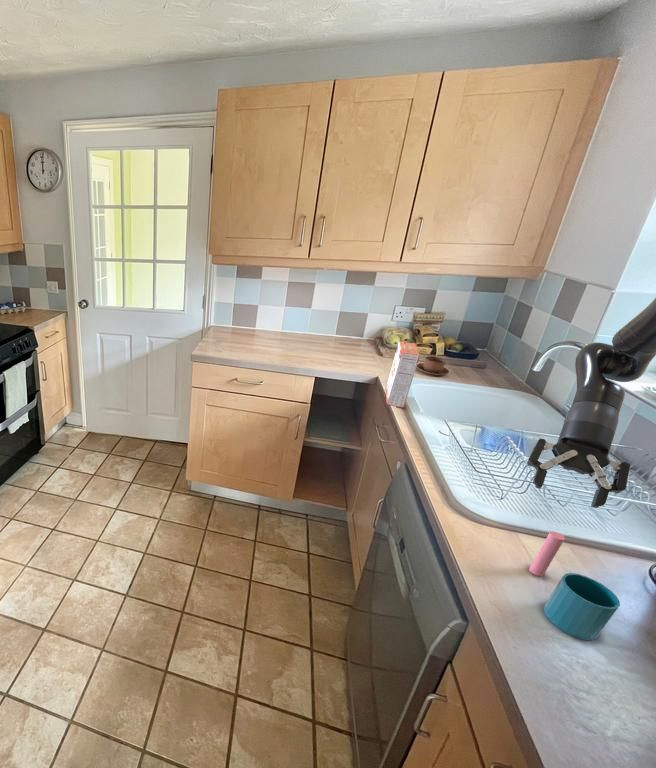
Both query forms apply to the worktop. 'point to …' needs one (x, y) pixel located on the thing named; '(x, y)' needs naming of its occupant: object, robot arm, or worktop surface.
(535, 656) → the worktop surface
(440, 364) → the cup and saucer
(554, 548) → the pink cylinder
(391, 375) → the cracker box
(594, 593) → the teal cup
